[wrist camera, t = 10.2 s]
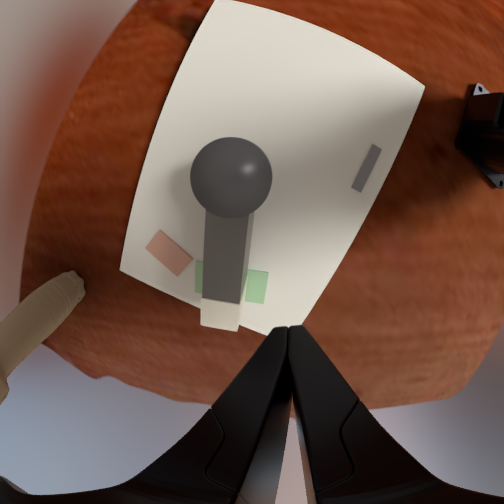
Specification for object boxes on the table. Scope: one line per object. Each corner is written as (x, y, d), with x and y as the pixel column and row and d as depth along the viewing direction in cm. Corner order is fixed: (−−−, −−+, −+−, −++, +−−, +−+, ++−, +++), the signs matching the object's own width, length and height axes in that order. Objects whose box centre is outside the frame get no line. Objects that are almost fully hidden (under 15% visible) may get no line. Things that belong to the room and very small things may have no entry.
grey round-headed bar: (212, 135, 16) (193, 134, 12) (278, 141, 15) (276, 141, 12) (203, 291, 20) (187, 322, 16) (256, 300, 20) (251, 333, 16)
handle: (53, 284, 24) (-36, 367, 10) (69, 246, 22) (-47, 335, 8) (82, 314, 25) (1, 410, 11) (103, 281, 22) (-3, 392, 9)
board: (418, 88, 14) (426, 86, 12) (288, 335, 22) (288, 344, 21) (219, 3, 13) (216, -4, 12) (125, 265, 21) (118, 271, 20)
